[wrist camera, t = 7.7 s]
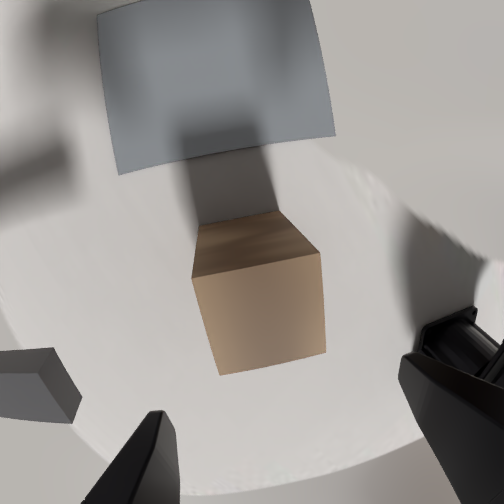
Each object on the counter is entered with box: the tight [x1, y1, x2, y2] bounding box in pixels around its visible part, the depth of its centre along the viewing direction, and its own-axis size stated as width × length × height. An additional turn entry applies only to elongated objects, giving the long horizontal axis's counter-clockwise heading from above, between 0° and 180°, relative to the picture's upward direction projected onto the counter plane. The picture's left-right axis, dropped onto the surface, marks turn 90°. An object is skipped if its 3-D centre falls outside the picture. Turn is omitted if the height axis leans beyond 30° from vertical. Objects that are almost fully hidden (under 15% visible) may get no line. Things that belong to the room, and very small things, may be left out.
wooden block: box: [191, 211, 326, 375], centre depth 15 cm, size 4×4×7 cm
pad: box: [97, 0, 336, 175], centre depth 14 cm, size 12×10×1 cm
